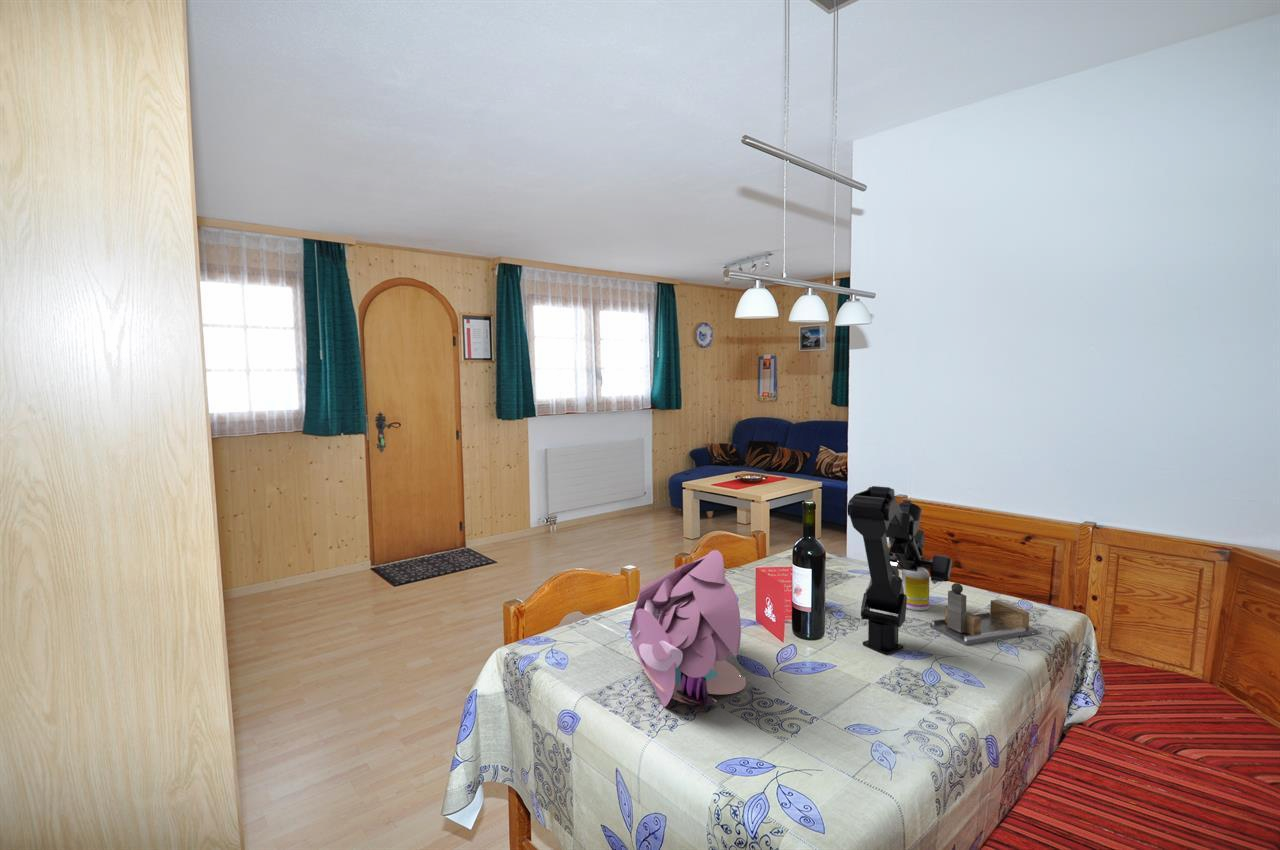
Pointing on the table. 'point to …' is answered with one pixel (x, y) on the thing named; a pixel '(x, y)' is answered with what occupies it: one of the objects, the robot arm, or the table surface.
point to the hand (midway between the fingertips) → (916, 578)
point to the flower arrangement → (689, 632)
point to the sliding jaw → (960, 613)
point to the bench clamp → (991, 625)
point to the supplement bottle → (916, 588)
